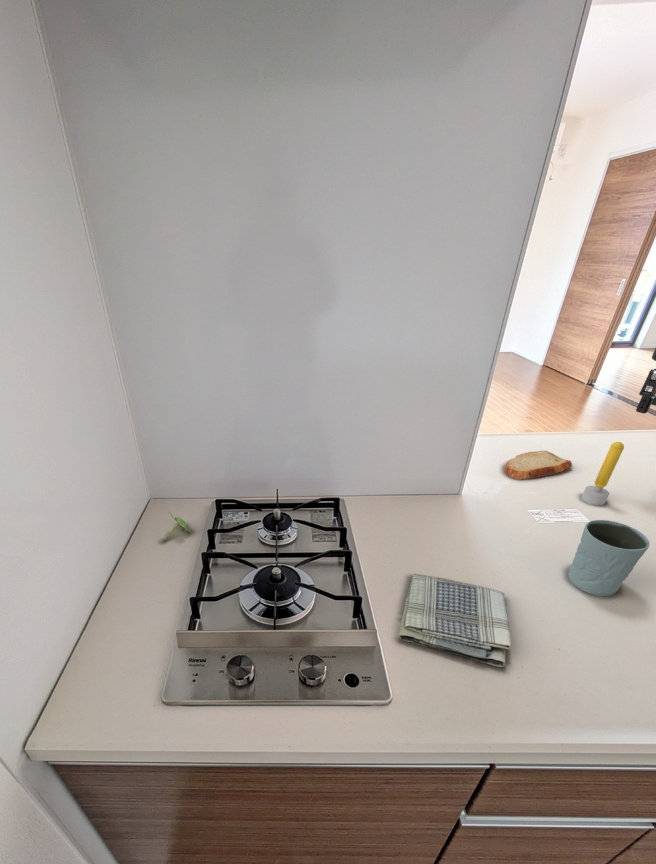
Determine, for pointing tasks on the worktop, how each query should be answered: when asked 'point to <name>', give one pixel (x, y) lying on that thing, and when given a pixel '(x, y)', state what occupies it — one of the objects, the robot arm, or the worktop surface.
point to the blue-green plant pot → (606, 556)
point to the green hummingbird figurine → (179, 521)
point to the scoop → (603, 477)
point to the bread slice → (535, 465)
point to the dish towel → (456, 619)
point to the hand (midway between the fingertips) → (648, 408)
